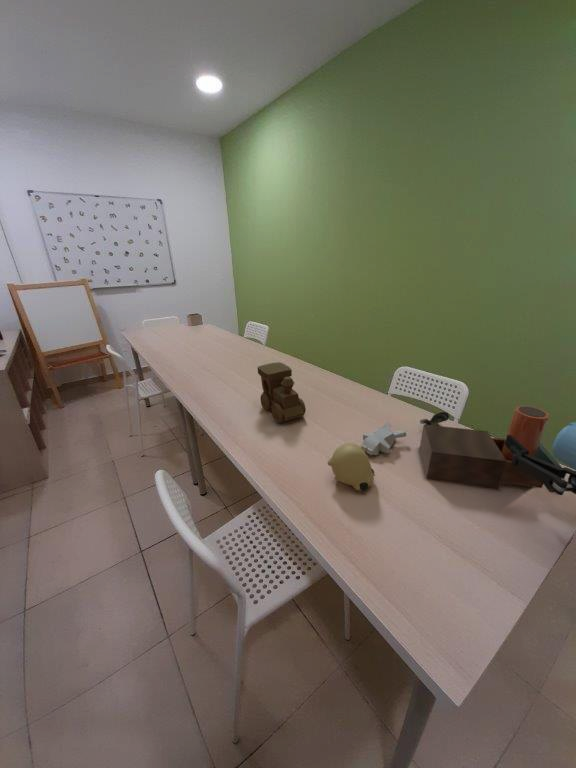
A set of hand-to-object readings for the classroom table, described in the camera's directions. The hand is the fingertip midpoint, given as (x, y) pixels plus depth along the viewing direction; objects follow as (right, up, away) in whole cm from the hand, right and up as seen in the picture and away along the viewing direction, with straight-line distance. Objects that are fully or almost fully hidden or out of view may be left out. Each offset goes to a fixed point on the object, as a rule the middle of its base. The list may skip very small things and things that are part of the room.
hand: (538, 440), depth 70 cm
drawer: (+1, -10, +9) cm, 14 cm away
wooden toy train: (-61, +2, +44) cm, 75 cm away
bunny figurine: (-30, -6, +23) cm, 38 cm away
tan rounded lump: (-42, -12, +9) cm, 45 cm away
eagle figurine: (-10, -2, +30) cm, 32 cm away
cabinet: (-12, -10, +13) cm, 20 cm away
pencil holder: (+1, -9, +9) cm, 13 cm away
